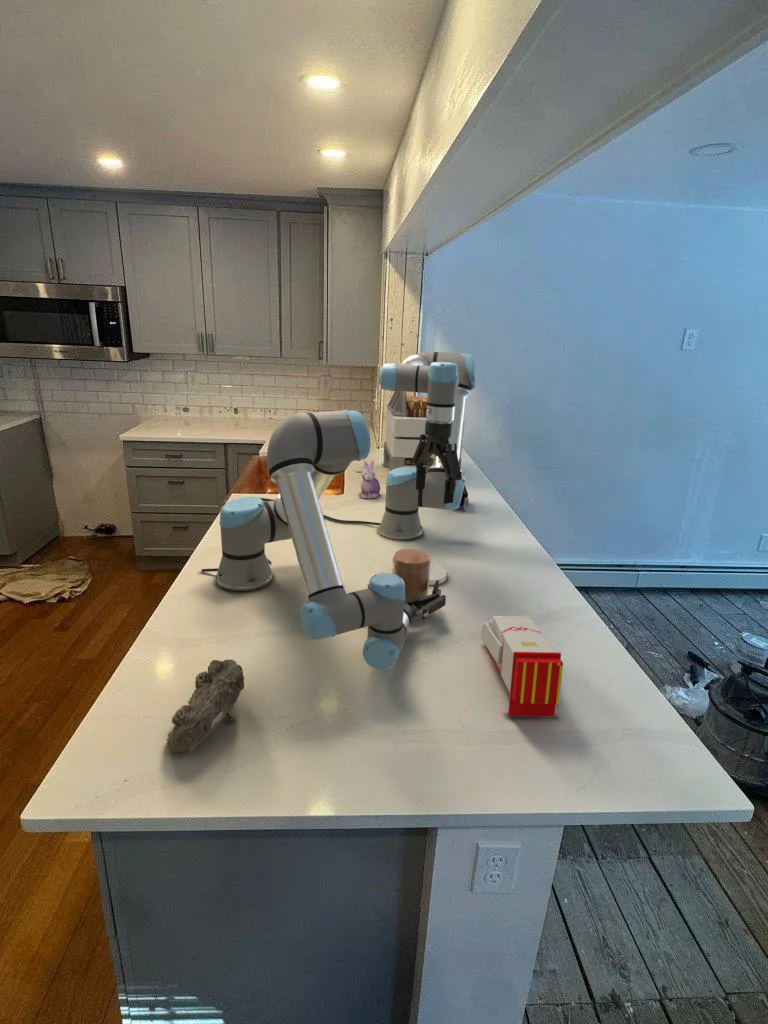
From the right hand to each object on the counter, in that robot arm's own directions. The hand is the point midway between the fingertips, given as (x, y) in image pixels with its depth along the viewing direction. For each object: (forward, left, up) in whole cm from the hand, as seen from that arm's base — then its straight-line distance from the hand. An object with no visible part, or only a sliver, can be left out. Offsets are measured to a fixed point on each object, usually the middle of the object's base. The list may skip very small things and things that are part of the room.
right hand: (433, 495), depth 161 cm
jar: (+10, -17, -25) cm, 32 cm away
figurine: (-69, +34, -25) cm, 81 cm away
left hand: (+9, -15, -19) cm, 26 cm away
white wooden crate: (-82, +76, -25) cm, 115 cm away
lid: (0, 0, -24) cm, 24 cm away
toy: (+46, -19, -25) cm, 56 cm away
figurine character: (-39, +56, -25) cm, 72 cm away
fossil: (+19, -77, -25) cm, 83 cm away
